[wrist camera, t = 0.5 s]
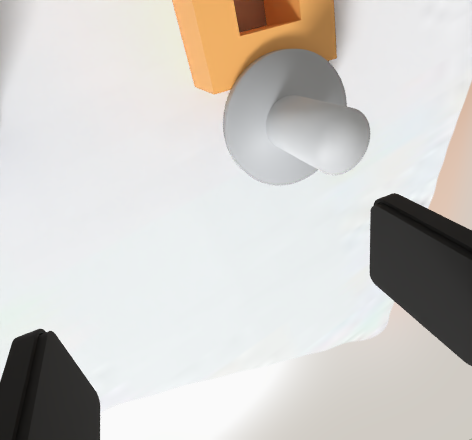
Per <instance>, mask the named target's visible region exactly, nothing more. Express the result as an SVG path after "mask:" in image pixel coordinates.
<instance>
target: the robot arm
mask: <svg viewBox="0 0 472 440" xmlns="http://www.w3.org/2000/svg"><path fill="white" fill-rule="evenodd" d="M370 277H371V279H372V281H373V282H374V284H375V285H376V286H378V287H379V288H380V289H381V290H382V291H383V292H385V293H386V294H387V295H388V296H389V297H390V298H391V299H393V300H394V301H395V302H396V303H397V304H399V305H400V306H401V307H402V308H403V309H404V310H406V311H407V312H408V313H409V314H410V315H411V316H412V317H413V318H415V319H416V320H417V321H418V322H419V323H420V324H422V325H423V326H424V327H425V328H426V329H427V330H428V331H430V332H431V333H432V334H433V335H434V336H435V337H437V338H438V339H439V340H440V341H441V342H442V343H444V344H445V345H446V346H447V347H448V348H449V349H451V350H452V351H453V352H454V353H455V354H457V356H459V357H460V358H461V359H462V360H463V361H464V362H466V363H468V364H469V365H471V366H472V230H469V229H467V228H466V227H463V226H461V225H459V224H457V223H455V222H453V221H451V220H449V219H447V218H445V217H443V216H441V215H439V214H437V213H435V212H433V211H431V210H429V209H427V208H425V207H423V206H421V205H419V204H417V203H415V202H413V201H411V200H409V199H407V198H405V197H403V196H401V195H399V194H396V193H394V194H390V195H388V196H385V197H382V198H380V199H377V200H376V201H375V203H374V206H373V207H372V208H371V224H370ZM0 440H100V402H99V398H98V395H97V393H96V391H95V390H94V388H93V387H92V385H91V384H90V383H89V381H88V380H87V378H86V377H85V375H84V374H83V373H82V371H81V370H80V368H79V367H78V366H77V364H76V363H75V361H74V360H73V358H72V357H71V356H70V354H69V353H68V351H67V350H66V349H65V347H64V346H63V344H62V343H61V341H60V340H59V339H58V337H57V336H56V334H55V333H54V332H52V331H49V332H45V331H44V330H43V329H38V330H35V331H32V332H30V333H27V334H25V335H22V336H19V337H17V338H15V339H14V340H13V342H12V345H11V348H10V352H9V355H8V358H7V362H6V365H5V368H4V372H3V375H2V378H1V381H0ZM470 440H472V439H470Z"/></svg>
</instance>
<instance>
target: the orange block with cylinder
mask: <svg viewBox="0 0 472 440" xmlns="http://www.w3.org/2000/svg"><path fill="white" fill-rule="evenodd" d="M172 1H173V5H174V9H175V13H176V16H177V20H178V24H179V28H180V32H181V36H182V39H183V43H184V47H185V51H186V55H187V58H188V62H189V66H190V70H191V74H192V77H193V81H194V85H195V87H197V88H199V89H202V90H204V91H207V92H209V93H212V94H217V93H221V92H224V91H227V90H231V91H230V93H229V95H228V98H227V101H226V105H225V110H224V117H223V131H224V137H225V142H226V145H227V148H228V150H229V152H230V155H231V156H232V158H233V159H234V161H235V162H236V163H237V165H238V166H239V167H240V168H241V169H242V170H243V171H245V172H246V173H247V174H248V175H249V176H251V177H252V178H254V179H255V180H257V181H260V182H262V183H265V184H269V185H288V184H292V183H296V182H299V181H301V180H303V179H305V178H307V177H309V176H310V175H312V174H313V173H315V172H316V171H317V170H320V171H322V172H323V173H325V174H328V175H340V174H343V173H346V172H348V171H349V170H351V169H352V168H353V167H355V166H356V165H357V164H358V163H359V161H360V160H361V159H362V157H363V156H364V154H365V152H366V150H367V147H368V144H369V140H370V127H369V123H368V120H367V118H366V117H365V115H364V114H363V113H362V112H360V111H359V110H357V109H354V108H350V107H347V103H346V95H345V90H344V86H343V84H342V81H341V79H340V77H339V75H338V73H337V71H336V70H335V69H334V67H333V66H332V65H331V64H330V63H329V62H328V61H329V60H332V59H336V58H337V54H336V35H335V16H334V0H263V2H264V9H265V16H266V23H267V25H266V26H262V27H259V28H255V29H251V30H247V31H243V32H240V33H239V28H238V23H237V17H236V12H235V6H234V1H233V0H172Z"/></svg>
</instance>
